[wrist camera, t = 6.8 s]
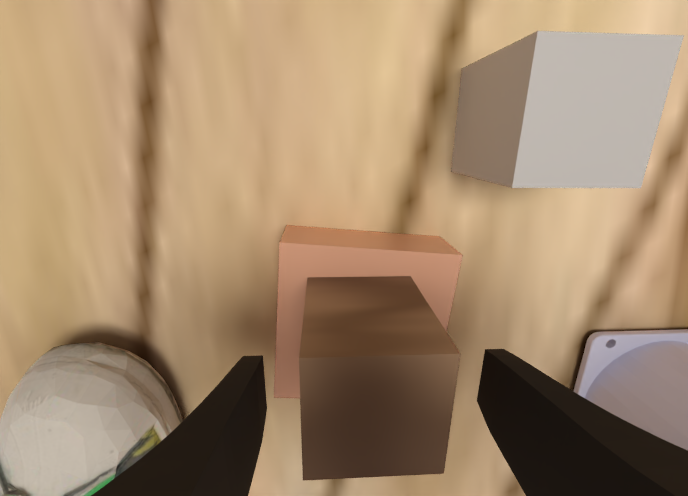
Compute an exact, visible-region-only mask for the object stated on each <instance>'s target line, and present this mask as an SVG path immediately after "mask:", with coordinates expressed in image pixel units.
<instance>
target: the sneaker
mask: <svg viewBox="0 0 688 496" xmlns="http://www.w3.org/2000/svg"><path fill="white" fill-rule="evenodd" d="M182 421H183V420H182V417H181V413H180V411H179V408H178V406H177V403H176V401H175V399H174V396H173V394H172V392H171V390H170V389H169V387H168V385H167V384H166V382H165V381H164V379H163V378H162V377H161V376H160V375H159V374H158V372H157V371H156V370H155V369H154V368H153V367H152V366H151V365H150V364H149V363H148V362H147V361H146V360H144V359H142V358H140V357H138V356H137V355H135V354H133V353H131V352H130V351H128V350H124V349H121V348H117V347H114V346H110V345H107V344H103V343H100V342H91V343H81V344H70V345H63V346H58V347H54V348H52V349H51V350H49V351H48V352H47V353H45V354H44V355H42V356H41V357H40V358H39V359H38V360H37V361H36V362H35V363H34V364H33V365H32V366H31V367H30V368H29V369H28V370H27V372H26V373H25V375H24V376H23V377H22V379H21V380H20V382H19V383H18V384H17V386H16V387H15V389H14V390H13V391H12V393H11V394H10V396H9V398H8V401H7V403H6V406H5V409H4V411H3V414H2V416H1V419H0V496H91V495H93V494H94V493H95V492H97V491H98V490H100V489H101V488H102V487H104V486H105V485H106V484H108V483H109V482H110V481H112V480H113V479H114V478H116V477H117V476H118V475H120V474H121V473H122V472H124V471H125V470H126V469H128V468H129V467H130V466H132V465H133V464H134V463H136V462H137V461H138V460H139V459H141V458H142V457H143V456H144V455H146V454H147V453H148V452H149V451H150V450H152V449H153V448H154V447H155V446H156V445H157V444H159V443H160V442H161V441H162V440H163V439H164V438H165V437H167V436H168V435H169V434H170V433H171V432H172V431H173V430H174V429H175V428H176V427H177V426H178V425H179V424H180V423H181V422H182Z"/></svg>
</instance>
